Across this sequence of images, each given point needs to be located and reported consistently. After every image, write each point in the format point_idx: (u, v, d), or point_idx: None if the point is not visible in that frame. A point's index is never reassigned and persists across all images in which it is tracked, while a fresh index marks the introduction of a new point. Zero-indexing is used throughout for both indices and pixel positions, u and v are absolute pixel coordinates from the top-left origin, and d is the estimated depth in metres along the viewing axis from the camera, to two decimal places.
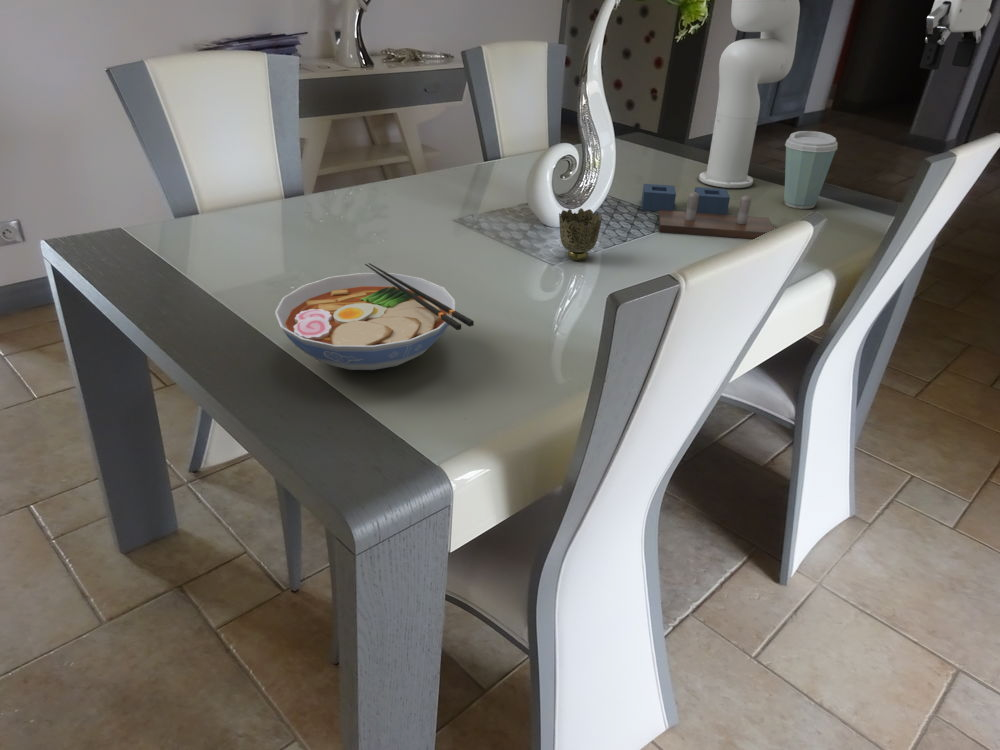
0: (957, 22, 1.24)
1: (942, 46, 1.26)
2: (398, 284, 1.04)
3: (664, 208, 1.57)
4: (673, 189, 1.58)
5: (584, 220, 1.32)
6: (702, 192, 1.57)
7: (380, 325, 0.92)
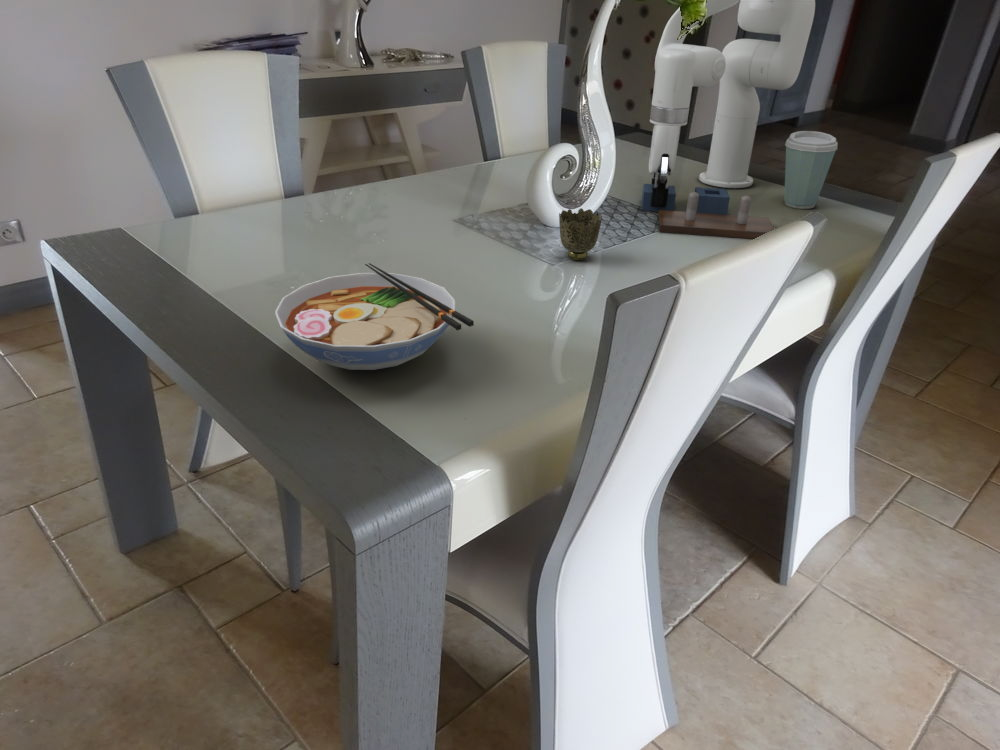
0: (673, 168, 1.52)
1: (667, 190, 1.55)
2: (398, 284, 1.04)
3: (664, 208, 1.57)
4: (673, 189, 1.58)
5: (584, 220, 1.32)
6: (702, 192, 1.57)
7: (380, 325, 0.92)
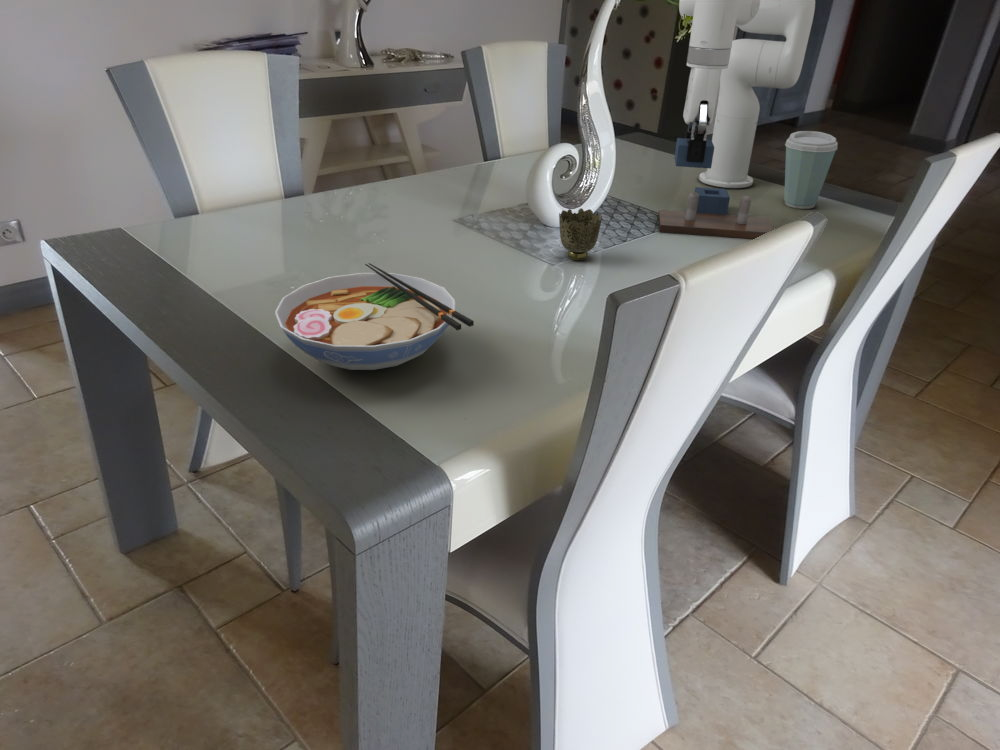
0: None
1: (705, 142, 1.39)
2: (398, 284, 1.04)
3: (701, 163, 1.42)
4: (710, 143, 1.43)
5: (584, 220, 1.32)
6: (702, 192, 1.57)
7: (380, 325, 0.92)
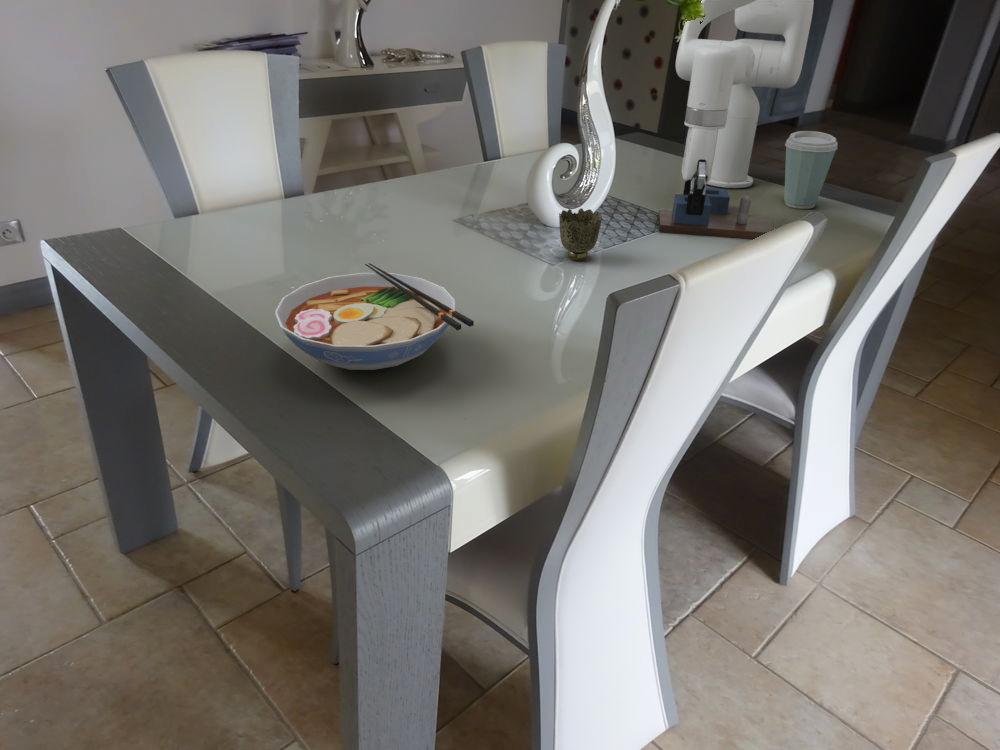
0: (710, 175, 1.40)
1: (704, 196, 1.41)
2: (398, 284, 1.04)
3: (698, 221, 1.45)
4: (708, 200, 1.46)
5: (584, 220, 1.32)
6: None
7: (380, 325, 0.92)
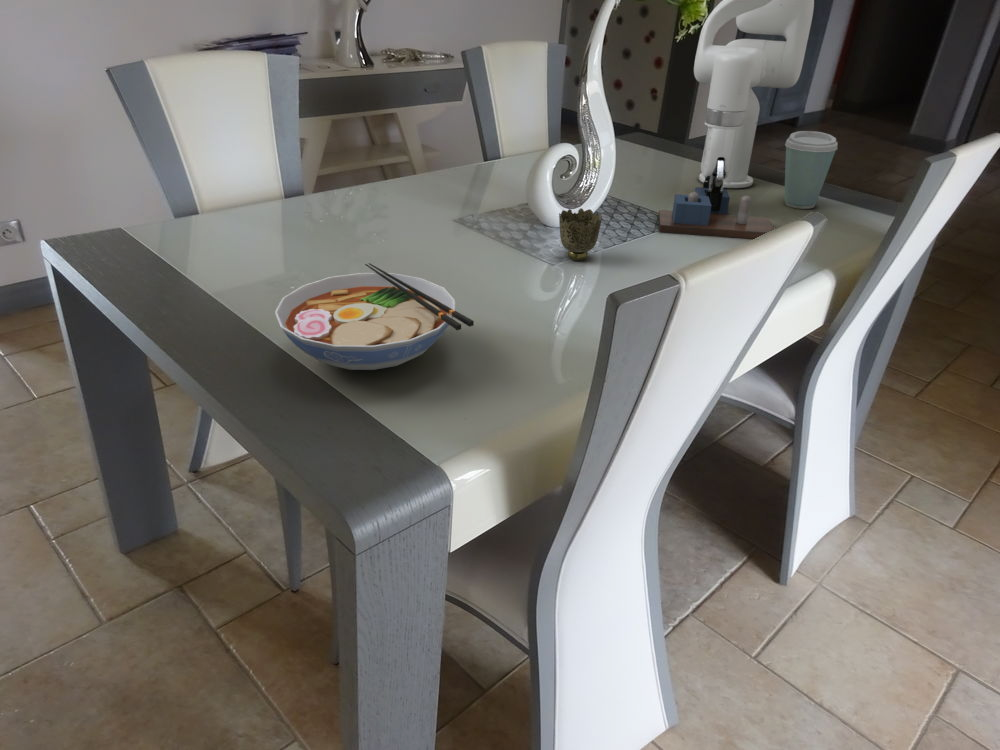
0: (728, 171, 1.51)
1: (721, 193, 1.53)
2: (398, 284, 1.04)
3: (698, 221, 1.45)
4: (708, 200, 1.46)
5: (584, 220, 1.32)
6: (702, 192, 1.57)
7: (380, 325, 0.92)
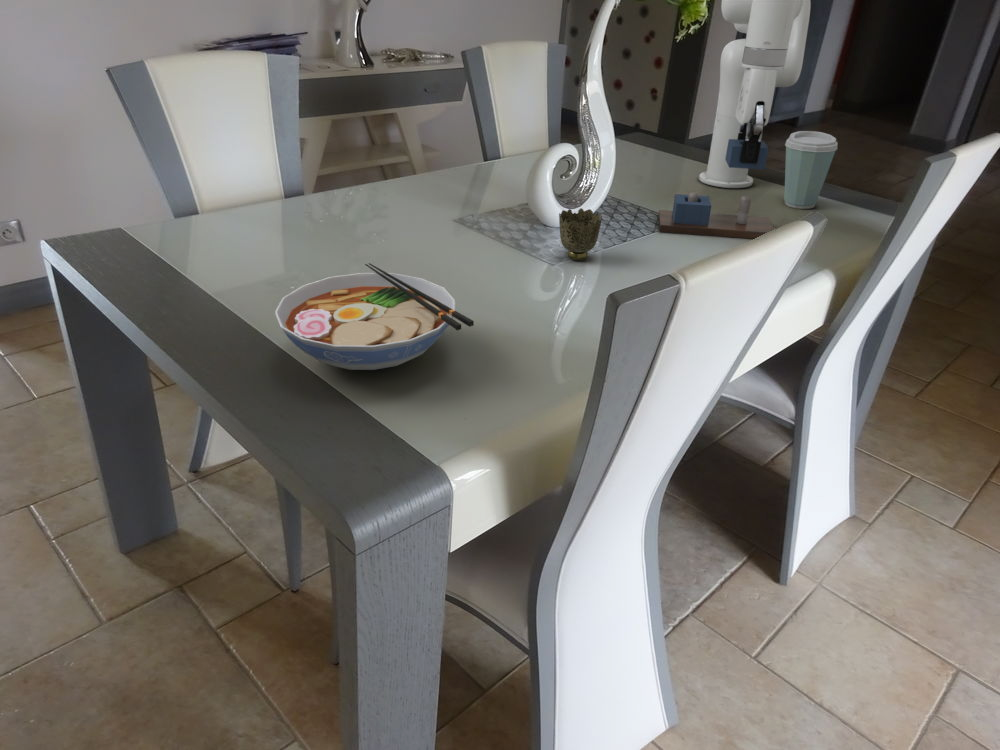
0: None
1: (760, 143, 1.38)
2: (398, 284, 1.04)
3: (698, 221, 1.45)
4: (708, 200, 1.46)
5: (584, 220, 1.32)
6: (737, 143, 1.42)
7: (380, 325, 0.92)
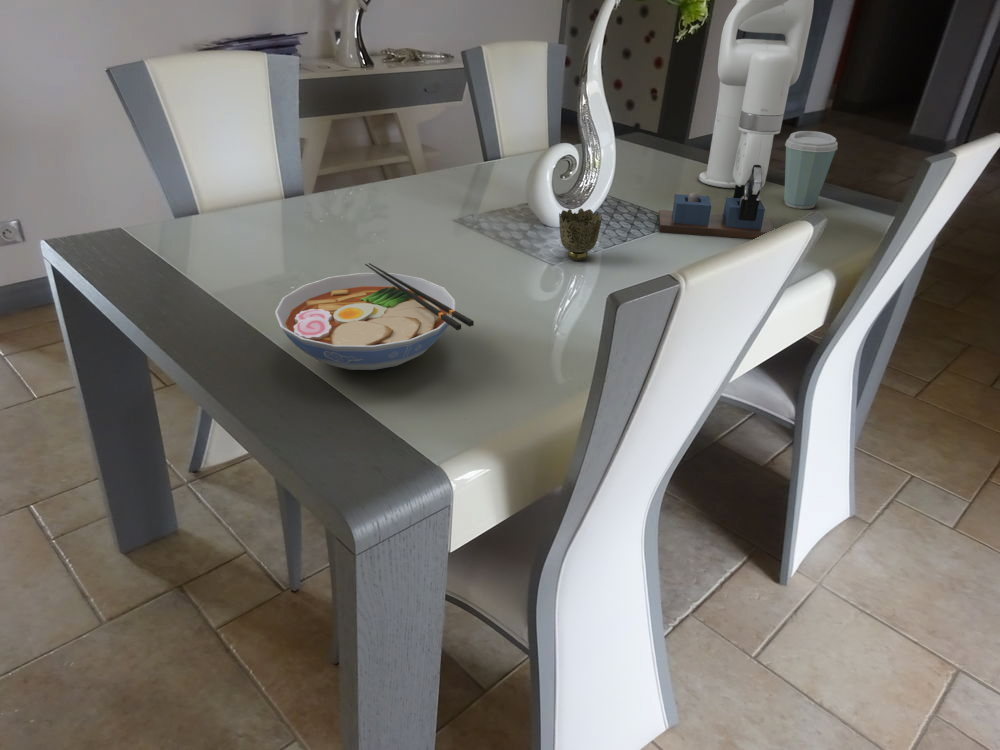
0: (764, 180, 1.39)
1: (758, 201, 1.40)
2: (398, 284, 1.04)
3: (698, 221, 1.45)
4: (708, 200, 1.46)
5: (584, 220, 1.32)
6: (734, 203, 1.45)
7: (380, 325, 0.92)
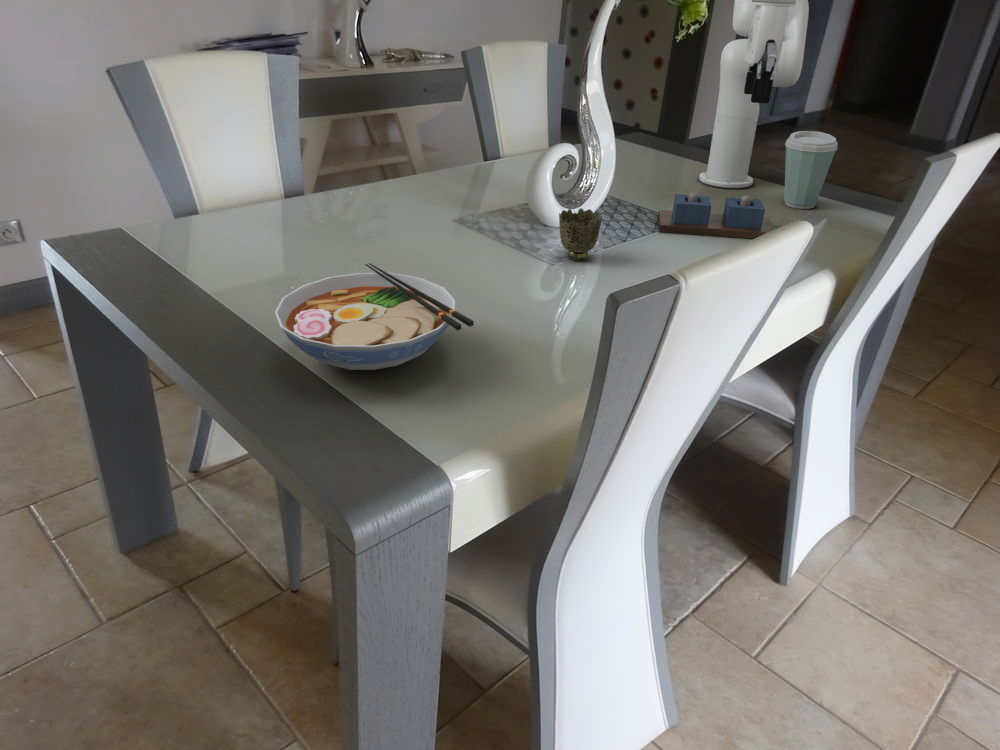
0: (778, 58, 1.33)
1: (772, 81, 1.33)
2: (398, 284, 1.04)
3: (698, 221, 1.45)
4: (708, 200, 1.46)
5: (584, 220, 1.32)
6: (734, 203, 1.45)
7: (380, 325, 0.92)
